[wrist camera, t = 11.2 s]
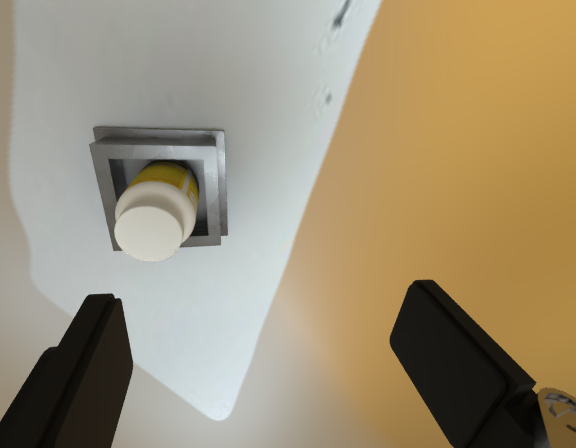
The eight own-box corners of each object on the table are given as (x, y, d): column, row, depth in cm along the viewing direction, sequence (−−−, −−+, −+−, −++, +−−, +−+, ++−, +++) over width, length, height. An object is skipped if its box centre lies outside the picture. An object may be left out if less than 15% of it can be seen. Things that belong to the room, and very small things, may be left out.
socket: (95, 126, 28) (75, 134, 24) (223, 130, 31) (224, 137, 27) (119, 237, 33) (106, 258, 29) (227, 232, 36) (228, 251, 32)
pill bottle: (124, 184, 30) (80, 234, 20) (167, 145, 29) (143, 177, 20) (171, 223, 33) (152, 283, 23) (212, 188, 32) (210, 235, 22)
